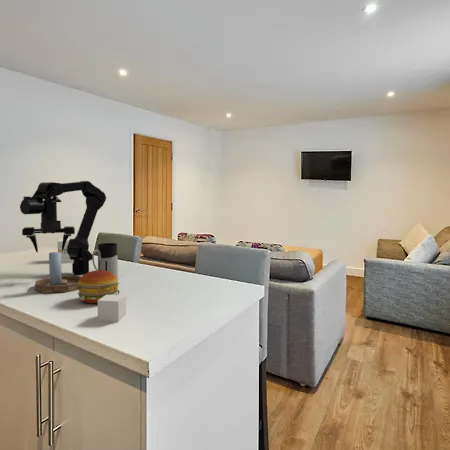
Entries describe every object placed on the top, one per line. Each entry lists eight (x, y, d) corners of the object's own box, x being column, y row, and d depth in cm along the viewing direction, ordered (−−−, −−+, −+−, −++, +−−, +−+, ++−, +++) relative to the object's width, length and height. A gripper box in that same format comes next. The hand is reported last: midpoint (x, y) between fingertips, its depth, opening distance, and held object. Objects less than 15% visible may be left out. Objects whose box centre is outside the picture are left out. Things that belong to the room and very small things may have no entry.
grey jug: (122, 278, 149) (122, 243, 147) (102, 286, 135) (102, 248, 134) (105, 276, 151) (104, 242, 150) (83, 284, 137) (83, 246, 136)
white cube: (97, 321, 98) (97, 300, 97) (106, 314, 104) (106, 294, 103) (118, 322, 97) (118, 301, 97) (126, 315, 103) (125, 295, 103)
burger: (71, 299, 118) (70, 270, 117) (108, 292, 127) (108, 265, 126) (87, 308, 108) (87, 277, 107) (127, 300, 118) (126, 271, 117)
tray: (84, 280, 144) (84, 274, 144) (86, 290, 128) (86, 283, 128) (37, 283, 137) (37, 277, 137) (33, 295, 121) (33, 288, 121)
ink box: (58, 260, 185) (57, 238, 185) (75, 259, 189) (74, 238, 188) (57, 263, 178) (57, 240, 177) (75, 262, 181) (75, 240, 180)
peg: (60, 285, 130) (60, 251, 129) (62, 288, 127) (62, 253, 126) (49, 287, 128) (48, 252, 127) (50, 289, 125) (49, 254, 124)
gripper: (19, 214, 128) (21, 256, 130) (74, 214, 136) (75, 253, 137) (23, 213, 139) (24, 251, 140) (74, 213, 146) (74, 249, 148)
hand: (49, 251), depth 141 cm, fingers open, 9 cm apart
